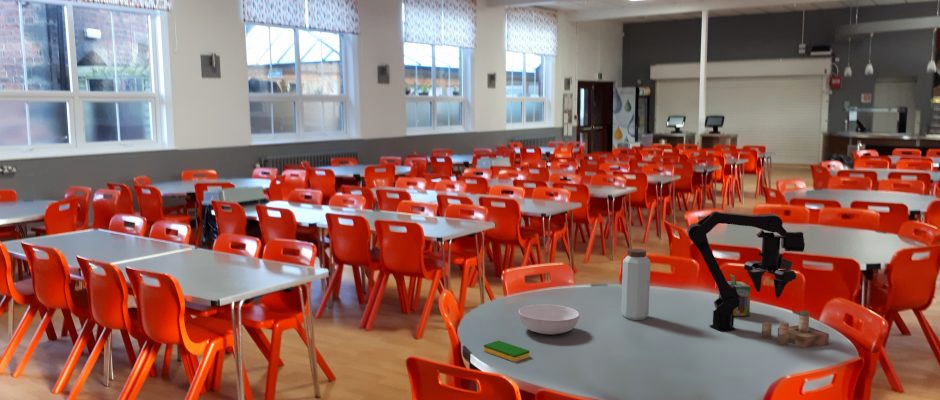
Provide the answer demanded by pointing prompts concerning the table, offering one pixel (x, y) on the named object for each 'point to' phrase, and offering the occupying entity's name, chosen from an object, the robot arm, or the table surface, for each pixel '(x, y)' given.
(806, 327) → the dowel long
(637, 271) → the water bottle
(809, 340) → the brown slab
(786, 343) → the dowel medium
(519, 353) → the dish sponge
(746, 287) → the chalk box
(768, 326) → the dowel short
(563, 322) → the serving bowl
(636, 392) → the table surface
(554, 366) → the table surface
